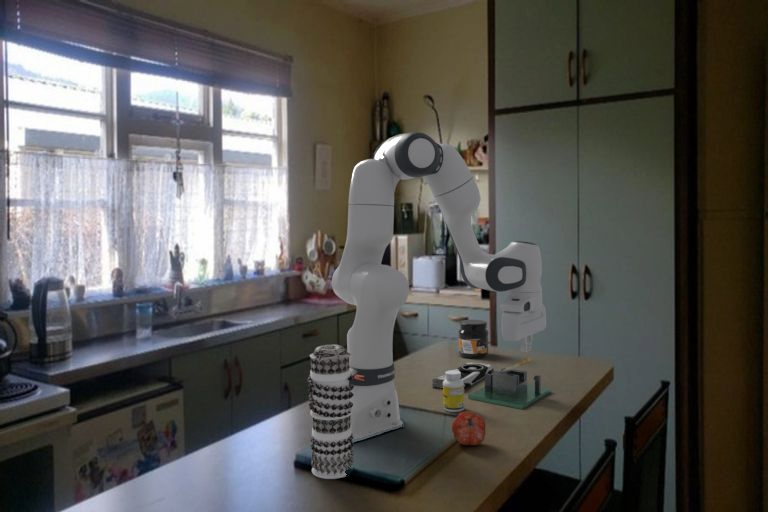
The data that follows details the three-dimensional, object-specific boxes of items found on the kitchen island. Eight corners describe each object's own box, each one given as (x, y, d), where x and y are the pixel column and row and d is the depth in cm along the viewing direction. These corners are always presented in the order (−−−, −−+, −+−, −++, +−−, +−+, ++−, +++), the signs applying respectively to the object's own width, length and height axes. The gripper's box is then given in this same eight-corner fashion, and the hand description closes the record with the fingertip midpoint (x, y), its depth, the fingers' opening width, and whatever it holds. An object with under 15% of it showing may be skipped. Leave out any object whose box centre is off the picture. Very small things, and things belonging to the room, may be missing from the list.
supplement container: (464, 360, 212) (463, 325, 211) (454, 353, 223) (454, 320, 222) (493, 358, 214) (493, 323, 214) (482, 351, 225) (482, 318, 224)
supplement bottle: (442, 406, 164) (442, 369, 163) (463, 405, 163) (462, 369, 163) (443, 412, 158) (443, 374, 157) (465, 412, 158) (464, 374, 157)
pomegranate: (450, 448, 140) (447, 435, 132) (456, 417, 144) (453, 402, 136) (483, 454, 138) (482, 441, 130) (488, 423, 142) (487, 408, 134)
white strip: (528, 362, 166) (525, 357, 166) (488, 380, 174) (486, 376, 174) (532, 360, 168) (530, 355, 169) (493, 378, 176) (491, 374, 176)
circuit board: (522, 409, 160) (522, 384, 159) (468, 398, 170) (468, 375, 169) (550, 392, 174) (550, 369, 173) (499, 383, 184) (499, 361, 183)
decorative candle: (330, 457, 131) (327, 340, 129) (364, 467, 126) (362, 345, 124) (300, 472, 124) (296, 348, 122) (335, 483, 118) (332, 354, 116)
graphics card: (432, 378, 180) (468, 359, 201) (432, 390, 180) (468, 370, 201) (463, 383, 174) (497, 363, 196) (464, 395, 175) (497, 374, 196)
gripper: (530, 295, 177) (531, 343, 178) (496, 305, 161) (497, 357, 162) (552, 296, 173) (552, 345, 174) (519, 307, 157) (519, 361, 158)
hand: (525, 351), depth 168 cm, fingers closed
